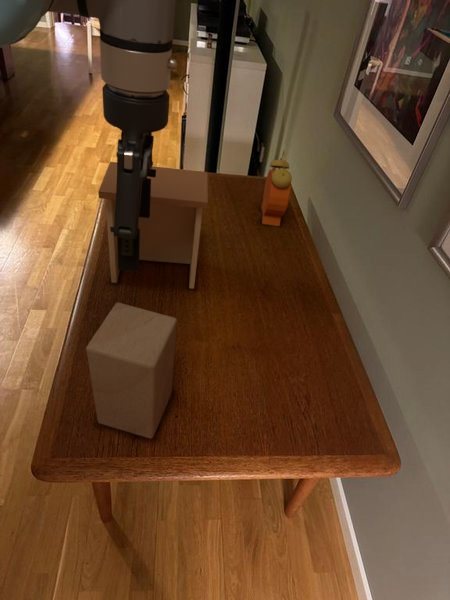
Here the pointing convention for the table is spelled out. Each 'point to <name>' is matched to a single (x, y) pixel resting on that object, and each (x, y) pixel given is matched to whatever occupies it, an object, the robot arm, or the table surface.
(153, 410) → the wooden block
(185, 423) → the table surface
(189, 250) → the desk
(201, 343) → the table surface
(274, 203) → the alarm clock
